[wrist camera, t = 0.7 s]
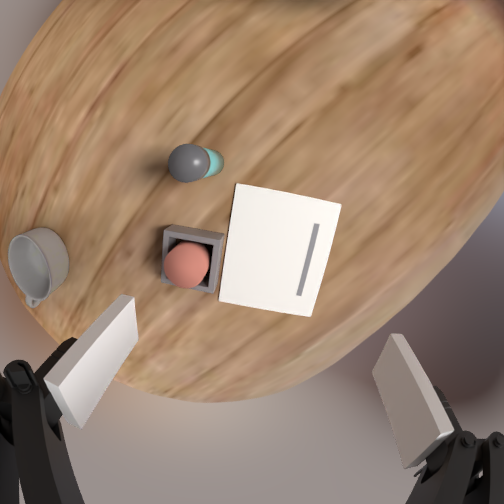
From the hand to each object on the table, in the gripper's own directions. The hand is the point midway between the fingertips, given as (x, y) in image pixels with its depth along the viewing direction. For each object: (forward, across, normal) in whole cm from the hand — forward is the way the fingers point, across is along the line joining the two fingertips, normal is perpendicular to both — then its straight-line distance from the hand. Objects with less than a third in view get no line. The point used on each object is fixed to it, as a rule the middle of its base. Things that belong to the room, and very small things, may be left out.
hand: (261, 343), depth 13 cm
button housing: (+22, -9, -5) cm, 24 cm away
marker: (+22, -8, +7) cm, 25 cm away
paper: (+22, +2, -3) cm, 23 cm away
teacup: (+22, -35, -10) cm, 43 cm away
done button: (+20, -9, -5) cm, 23 cm away
